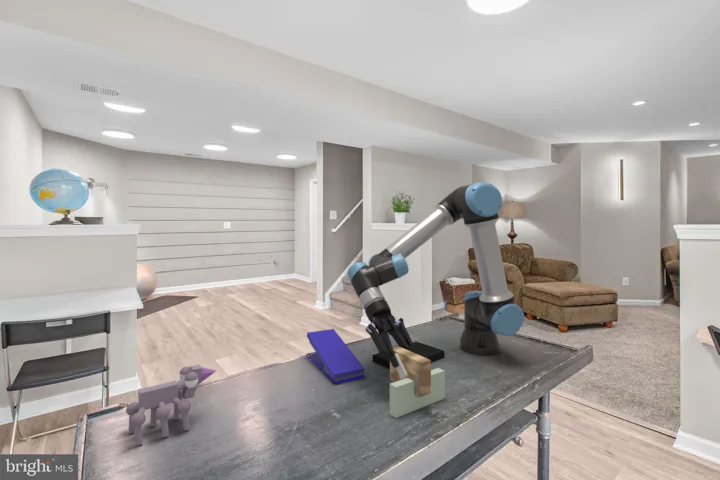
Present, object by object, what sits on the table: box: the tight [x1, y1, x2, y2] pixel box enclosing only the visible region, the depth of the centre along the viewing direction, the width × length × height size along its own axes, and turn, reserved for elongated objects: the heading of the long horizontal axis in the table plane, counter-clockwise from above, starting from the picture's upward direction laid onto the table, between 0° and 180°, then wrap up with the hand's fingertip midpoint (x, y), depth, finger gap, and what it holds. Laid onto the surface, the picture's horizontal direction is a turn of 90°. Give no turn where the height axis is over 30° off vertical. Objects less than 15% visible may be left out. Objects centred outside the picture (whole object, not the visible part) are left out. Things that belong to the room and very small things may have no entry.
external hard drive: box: [371, 341, 445, 370], centre depth 130 cm, size 14×23×3 cm, turn 129°
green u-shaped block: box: [389, 367, 446, 418], centre depth 96 cm, size 18×2×8 cm, turn 124°
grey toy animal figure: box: [125, 364, 217, 446], centre depth 87 cm, size 20×11×14 cm, turn 127°
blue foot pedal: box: [305, 328, 365, 385], centre depth 124 cm, size 12×28×10 cm, turn 28°
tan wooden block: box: [389, 346, 432, 397], centre depth 99 cm, size 13×4×9 cm, turn 34°
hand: (410, 375), depth 98 cm, fingers closed on tan wooden block, 3 cm apart
